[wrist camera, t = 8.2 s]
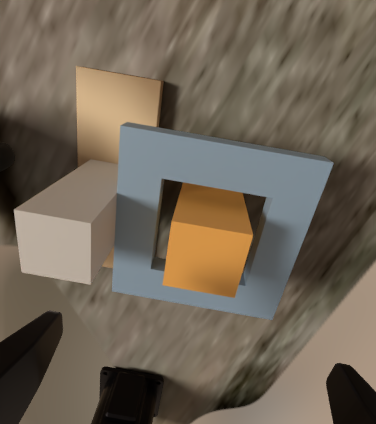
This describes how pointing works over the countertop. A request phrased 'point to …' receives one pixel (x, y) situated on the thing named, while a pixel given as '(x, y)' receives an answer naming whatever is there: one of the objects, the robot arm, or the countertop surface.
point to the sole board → (112, 113)
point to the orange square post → (208, 241)
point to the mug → (6, 156)
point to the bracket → (150, 213)
